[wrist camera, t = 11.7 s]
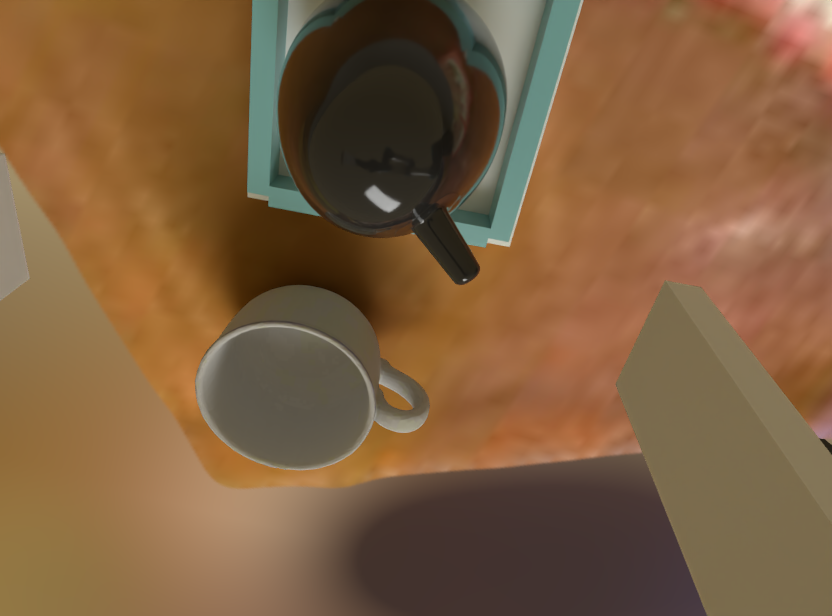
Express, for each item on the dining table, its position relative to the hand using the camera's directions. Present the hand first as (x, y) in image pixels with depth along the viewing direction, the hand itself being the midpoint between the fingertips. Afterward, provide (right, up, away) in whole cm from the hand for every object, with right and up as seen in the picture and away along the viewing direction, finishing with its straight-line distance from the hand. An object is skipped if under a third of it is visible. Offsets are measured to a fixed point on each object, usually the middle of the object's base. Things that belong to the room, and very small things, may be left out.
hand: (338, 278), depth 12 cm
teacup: (-4, -3, +29) cm, 29 cm away
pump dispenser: (+1, +11, +18) cm, 22 cm away
